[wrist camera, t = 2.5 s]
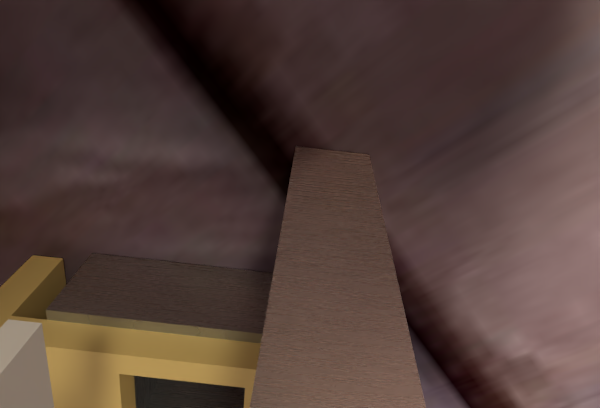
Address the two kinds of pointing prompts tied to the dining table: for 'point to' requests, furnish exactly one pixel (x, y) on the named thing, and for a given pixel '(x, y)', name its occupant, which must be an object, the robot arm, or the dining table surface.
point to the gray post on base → (169, 314)
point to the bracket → (116, 348)
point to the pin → (335, 296)
